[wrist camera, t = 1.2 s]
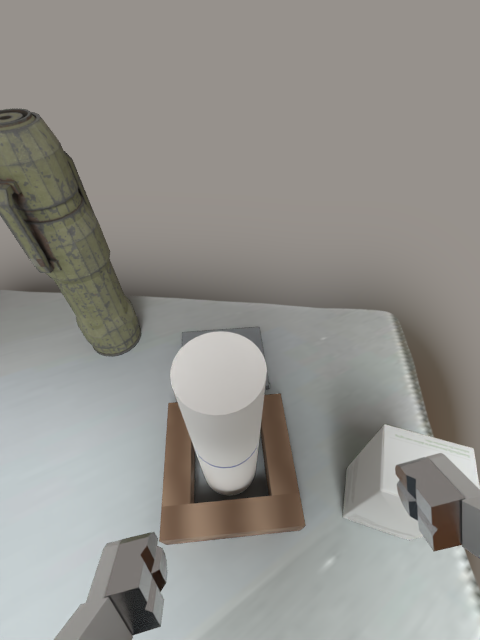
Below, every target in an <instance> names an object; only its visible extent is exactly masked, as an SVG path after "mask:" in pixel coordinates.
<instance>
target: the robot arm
mask: <svg viewBox="0 0 480 640" xmlns="http://www.w3.org/2000/svg"><path fill="white" fill-rule="evenodd" d="M395 474H396V475H397V477H398V478H399V481H398V483H397V490H398V494H399V497H400V500H401V502H402V504H403V506H404V508H405V510H406V511H407V513H408V514H409V516H410V517H412V518H414V519H416V520H417V521H418V525H419V531H420V532H421V534H422V535H423V537H424V538H425V540H426V541H427V542H428V544H429V545H430V547H431V548H432V550H433V551H438V550H442V549H446V548H451V547H455V546H459V545H462V547H464V548H465V549H467V550H468V551H470V552H471V553H472V554H474V555H476V556H477V557H478V558H480V489H479V488H478V487H477V486H476V485H475V484H474V483H473V482H472V481H471V480H470V479H469V478H468V477H467V476H466V475H465V474H464V473H463V472H462V471H461V470H460V469H459V468H458V467H457V466H456V465H455V464H454V463H453V462H452V461H451V460H449V459H448V458H447V457H446V456H445V455H444V454H442V453H438V454H435V455H431V456H427V457H423V458H419V459H416V460H412V461H409V462H405V463H402V464H398V465H396V467H395ZM157 541H158V538H157V536H156V535H155V533H154V532H151V533H147V534H143V535H139V536H134V537H130V538H126V539H122V540H119V541H115V542H111V543H107V544H106V546H105V547H104V549H103V551H102V554H101V557H100V561H99V564H98V567H97V570H96V573H95V576H94V579H93V582H92V585H91V588H90V591H89V594H88V597H87V600H86V603H84V604H81V605H80V606H79V607H78V609H77V610H76V611H75V613H74V614H73V615H72V616H71V618H70V619H69V620H68V622H67V623H66V624H65V626H64V627H63V628H62V629H61V631H60V632H59V633H58V635H57V636H56V637H55V638H54V640H132V638H133V636H132V635H135V634H138V633H142V632H145V631H148V630H151V629H154V628H158V627H161V620H162V612H163V604H164V599H163V597H162V595H161V593H160V592H161V590H162V589H163V587H164V586H165V584H166V579H167V560H166V556H165V553H164V551H163V548H161V547H159V546H157Z"/></svg>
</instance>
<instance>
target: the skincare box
mask: <svg viewBox="0 0 480 640" xmlns="http://www.w3.org/2000/svg"><path fill="white" fill-rule="evenodd" d="M438 453H442V454H444V455H445V456H446V457H447V458H448V459H449V460H451V461H452V462H453V463H454V464H455V465H456V466H457V467H458V468H459V469H460V470H461V471H462V472H463V473H464V474H465V475H466V476H467V477H468V478H469V479H470V480H471V481H472V482H473V483H474V484H475V485H476V486H477V487H478V488H479V489H480V486H479V481H478V475H477V468H476V461H475V455H474V449H473V448H470V447H466V446H463V445H459V444H455V443H451V442H448V441H444V440H441V439H437V438H434V437H430V436H426V435H423V434H419V433H416V432H412V431H408V430H405V429H401V428H397V427H393V426H390V425H386V424H384V425H383V427H382V428H381V429H380V430H379V431H378V432H377V433H376V435H375V436H374V437H373V438H372V439H371V440H370V442H369V443H368V444H367V445H366V446H365V447H364V448H363V450H362V451H361V452H360V453H359V454H358V455H357V457H356V458H355V459H354V460H353V461H352V462H351V464H350V465H349V466H348V467H347V473H346V484H345V495H344V507H343V518H346V519H348V520H351V521H354V522H357V523H359V524H362V525H365V526H368V527H371V528H374V529H377V530H379V531H382V532H385V533H388V534H391V535H394V536H397V537H400V538H403V539H406V540H409V541H410V540H413V539H417V538H421V537H423V535H422V534H421V532H420V531H419V525H418V521H417V520H416V519H414V518H412V517H410V516H409V514H408V513H407V511H406V510H405V508H404V506H403V504H402V502H401V500H400V497H399V494H398V490H397V483H398V481H399V478H398V477H397V475H396V474H395V467H396V465H398V464H402V463H405V462H409V461H412V460H416V459H419V458H423V457H427V456H431V455H435V454H438Z"/></svg>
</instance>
